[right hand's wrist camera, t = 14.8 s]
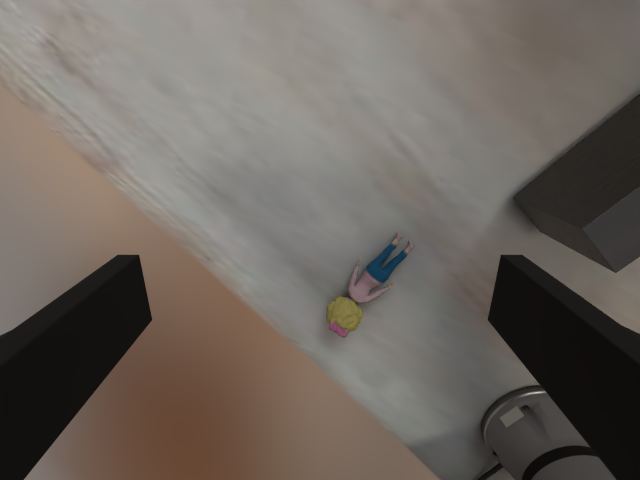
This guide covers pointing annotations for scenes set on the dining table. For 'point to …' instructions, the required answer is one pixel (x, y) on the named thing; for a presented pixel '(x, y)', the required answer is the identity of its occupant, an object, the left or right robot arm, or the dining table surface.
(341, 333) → the figurine
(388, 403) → the dining table surface
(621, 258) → the box
